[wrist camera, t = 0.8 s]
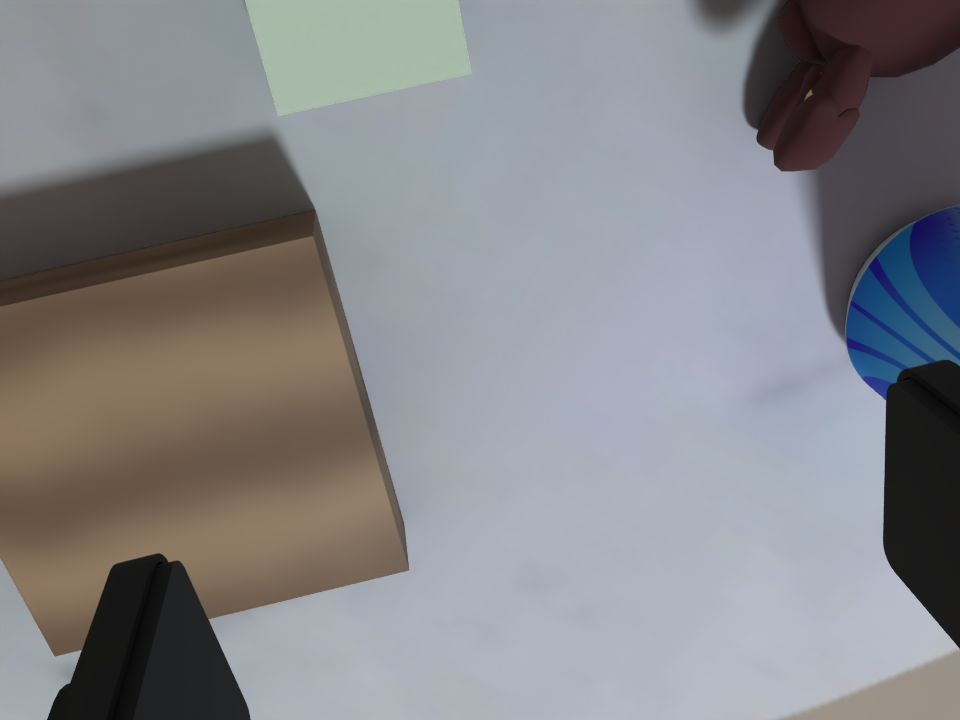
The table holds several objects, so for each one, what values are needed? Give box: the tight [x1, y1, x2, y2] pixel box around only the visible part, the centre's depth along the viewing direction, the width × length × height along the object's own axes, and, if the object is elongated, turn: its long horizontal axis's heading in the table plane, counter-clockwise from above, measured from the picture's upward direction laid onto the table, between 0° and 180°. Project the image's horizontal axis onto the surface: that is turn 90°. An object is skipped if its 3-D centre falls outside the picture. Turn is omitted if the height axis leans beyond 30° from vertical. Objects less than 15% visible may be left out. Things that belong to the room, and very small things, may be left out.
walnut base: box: [0, 210, 409, 656], centre depth 33 cm, size 14×14×3 cm
